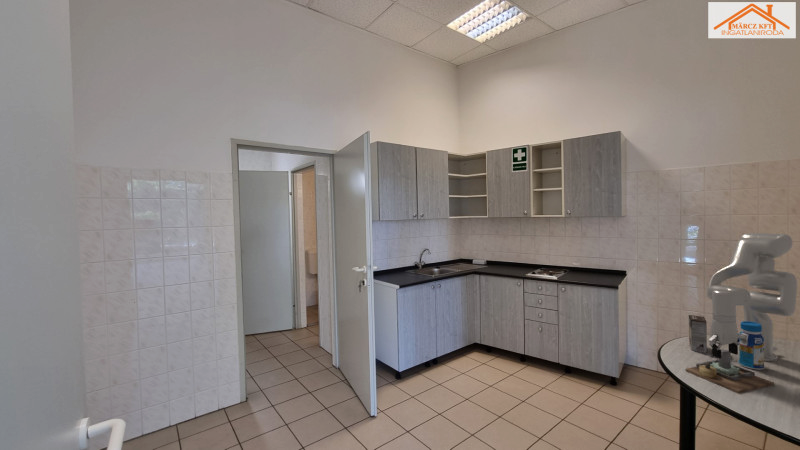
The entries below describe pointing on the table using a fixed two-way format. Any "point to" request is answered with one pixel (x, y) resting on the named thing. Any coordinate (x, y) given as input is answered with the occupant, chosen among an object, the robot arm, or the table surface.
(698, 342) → the coffee box
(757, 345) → the beverage bottle
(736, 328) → the robot arm
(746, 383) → the carrier
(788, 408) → the table surface
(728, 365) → the gear
